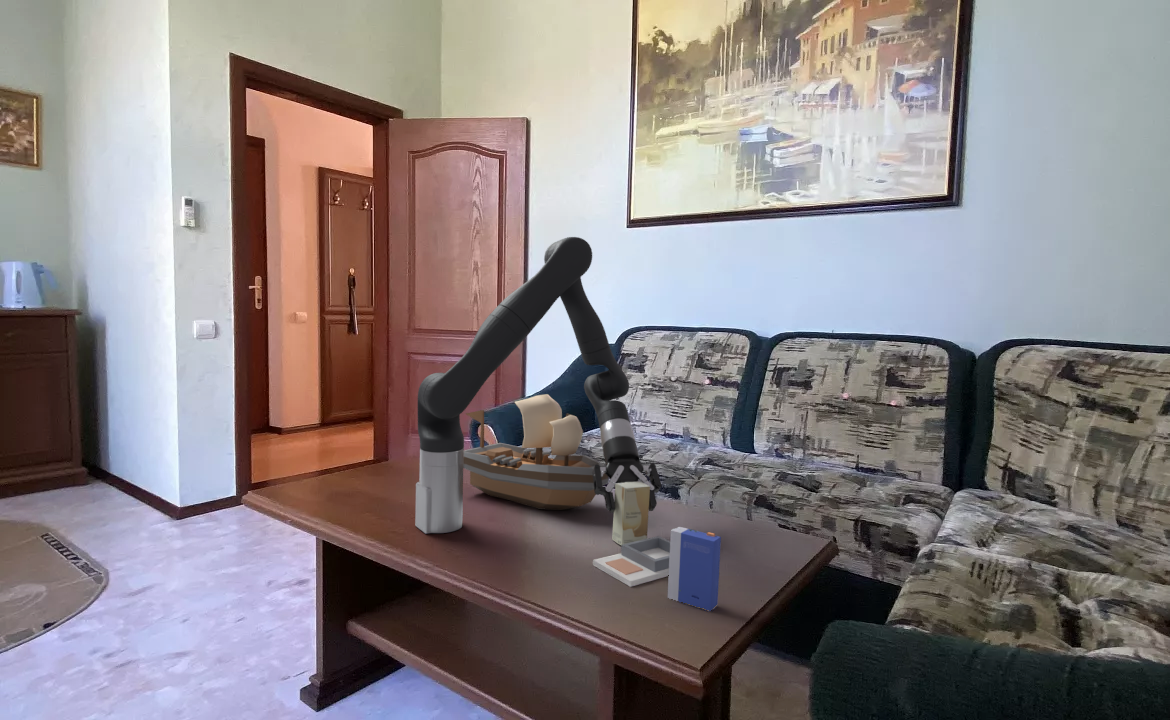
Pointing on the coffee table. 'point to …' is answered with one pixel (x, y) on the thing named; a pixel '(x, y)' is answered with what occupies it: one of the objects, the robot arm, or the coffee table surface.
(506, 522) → the coffee table surface
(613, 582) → the coffee table surface
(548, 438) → the sailing ship
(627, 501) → the skincare box
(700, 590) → the walkman
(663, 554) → the plate
